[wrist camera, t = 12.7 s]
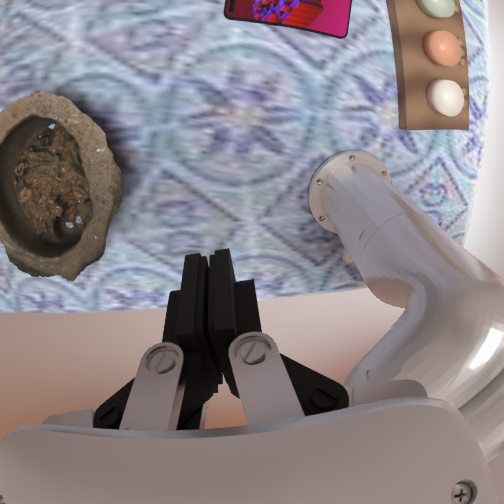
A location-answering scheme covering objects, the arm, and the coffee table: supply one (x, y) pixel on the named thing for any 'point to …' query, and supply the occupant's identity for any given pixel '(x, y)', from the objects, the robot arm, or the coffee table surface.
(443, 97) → the off-white button
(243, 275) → the coffee table surface
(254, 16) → the smartphone
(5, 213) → the stone bowl
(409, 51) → the button board
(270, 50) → the coffee table surface
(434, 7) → the sage button
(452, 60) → the terracotta button
